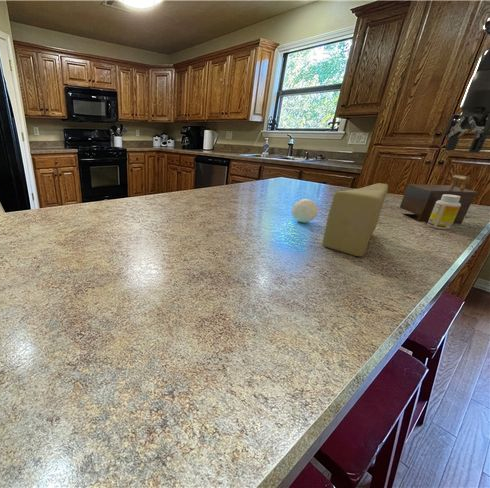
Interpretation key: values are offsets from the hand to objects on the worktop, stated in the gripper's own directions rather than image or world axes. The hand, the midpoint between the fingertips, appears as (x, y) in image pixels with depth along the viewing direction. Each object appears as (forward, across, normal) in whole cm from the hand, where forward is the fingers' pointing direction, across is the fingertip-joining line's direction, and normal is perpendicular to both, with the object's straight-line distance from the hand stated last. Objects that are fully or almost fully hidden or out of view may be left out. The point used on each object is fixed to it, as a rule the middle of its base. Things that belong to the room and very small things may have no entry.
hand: (460, 151), depth 81 cm
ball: (+22, -6, +43) cm, 49 cm away
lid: (+13, +7, -4) cm, 15 cm away
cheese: (+22, -22, +34) cm, 46 cm away
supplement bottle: (+23, -4, +1) cm, 23 cm away
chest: (+23, +7, -3) cm, 24 cm away
